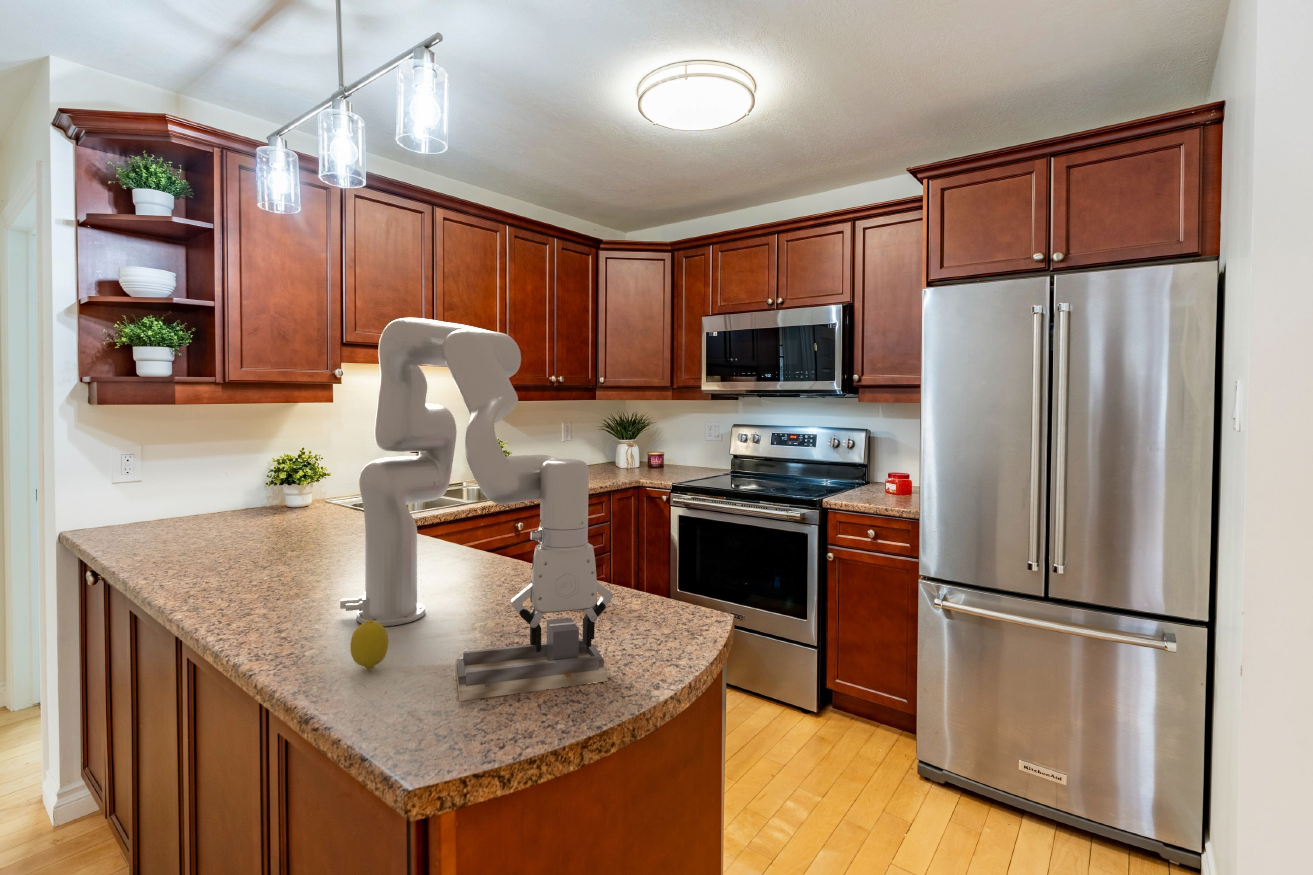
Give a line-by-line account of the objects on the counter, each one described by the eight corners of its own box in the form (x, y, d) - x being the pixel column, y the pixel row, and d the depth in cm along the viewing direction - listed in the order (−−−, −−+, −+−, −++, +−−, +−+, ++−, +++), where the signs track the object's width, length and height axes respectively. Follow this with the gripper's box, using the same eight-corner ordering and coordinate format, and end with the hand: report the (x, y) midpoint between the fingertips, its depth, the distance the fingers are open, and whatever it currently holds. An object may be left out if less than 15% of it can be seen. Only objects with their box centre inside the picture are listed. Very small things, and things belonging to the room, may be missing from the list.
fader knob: (552, 669, 99) (553, 631, 99) (546, 655, 105) (546, 619, 104) (578, 666, 101) (579, 628, 100) (570, 653, 106) (571, 616, 106)
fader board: (459, 700, 92) (459, 677, 92) (456, 670, 103) (456, 649, 102) (607, 681, 100) (607, 659, 100) (590, 655, 110) (590, 635, 110)
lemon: (358, 662, 105) (358, 614, 105) (393, 662, 105) (393, 614, 105) (344, 676, 99) (344, 626, 99) (381, 676, 100) (381, 625, 100)
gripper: (511, 545, 95) (509, 661, 96) (623, 539, 101) (621, 649, 102) (505, 535, 102) (504, 643, 103) (610, 530, 108) (608, 633, 109)
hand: (562, 645), depth 103 cm, fingers open, 7 cm apart
